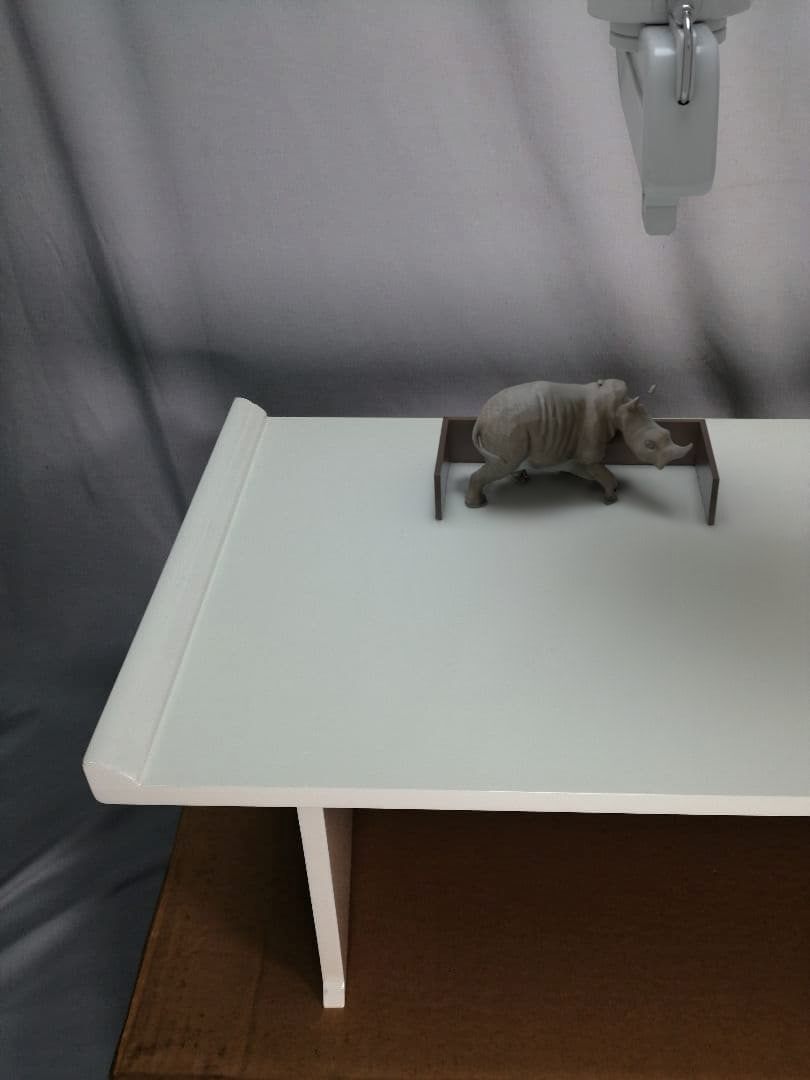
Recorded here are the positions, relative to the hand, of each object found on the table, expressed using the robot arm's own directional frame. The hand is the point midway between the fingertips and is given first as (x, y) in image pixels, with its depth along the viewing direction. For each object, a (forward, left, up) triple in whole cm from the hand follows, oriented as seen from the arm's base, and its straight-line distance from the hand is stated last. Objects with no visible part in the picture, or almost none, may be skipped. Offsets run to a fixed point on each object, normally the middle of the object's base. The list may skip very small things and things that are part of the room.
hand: (657, 227), depth 71 cm
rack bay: (+4, -10, -25) cm, 27 cm away
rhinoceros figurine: (+4, -10, -25) cm, 27 cm away
